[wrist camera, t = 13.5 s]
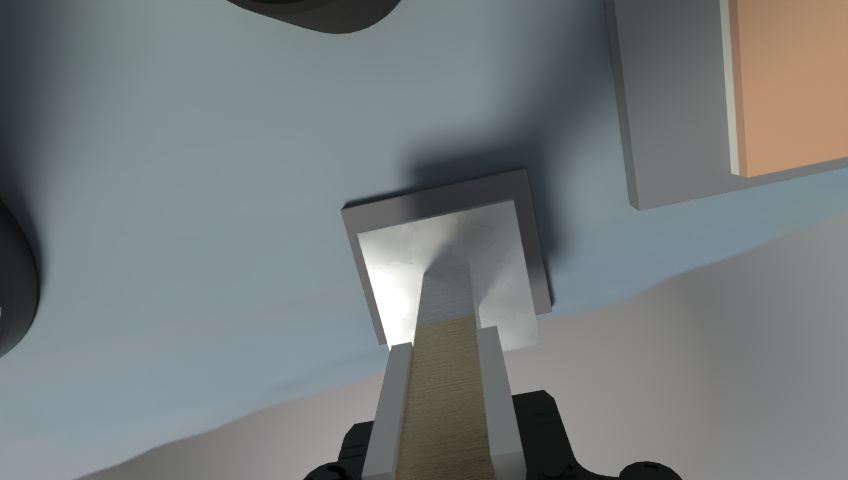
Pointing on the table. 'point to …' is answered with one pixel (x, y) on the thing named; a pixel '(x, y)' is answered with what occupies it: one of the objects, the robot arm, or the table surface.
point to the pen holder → (323, 13)
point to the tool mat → (445, 201)
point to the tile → (785, 82)
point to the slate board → (677, 103)
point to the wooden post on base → (449, 326)
